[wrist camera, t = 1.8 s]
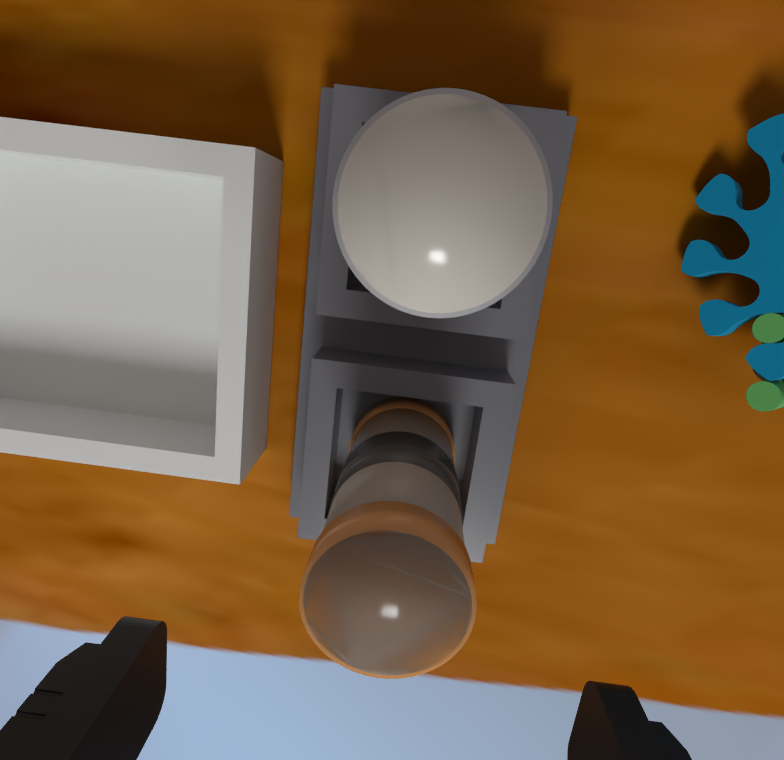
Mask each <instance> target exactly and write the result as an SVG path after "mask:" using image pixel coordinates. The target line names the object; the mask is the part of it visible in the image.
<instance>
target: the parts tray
mask: <svg viewBox="0 0 784 760" xmlns="http://www.w3.org/2000/svg"><path fill="white" fill-rule="evenodd" d="M282 177H283V161H281V160H279V159H277V158H275V157H273V156H271V155H269V154H267V153H265V152H263V151H261V150H259V149H257V148H255V147H247V146H238V145H230V144H222V143H214V142H205V141H197V140H189V139H180V138H172V137H164V136H156V135H147V134H139V133H131V132H122V131H114V130H106V129H98V128H89V127H81V126H73V125H64V124H56V123H48V122H39V121H31V120H23V119H15V118H6V117H0V452H3V453H11V454H18V455H25V456H33V457H40V458H47V459H55V460H62V461H70V462H77V463H84V464H92V465H99V466H107V467H114V468H121V469H129V470H136V471H143V472H151V473H158V474H166V475H173V476H180V477H188V478H195V479H203V480H210V481H217V482H225V483H232V484H239V485H240V483H241V482H242V481H243V479H244V478H245V477H246V475H247V474H248V472H249V471H250V470H251V468H252V467H253V466H254V464H255V463H256V461H257V460H258V459H259V457H260V456H261V455H262V453H263V452H264V451H265V449H266V443H267V427H268V410H269V393H270V377H271V360H272V343H273V327H274V310H275V293H276V277H277V260H278V243H279V227H280V210H281V194H282Z"/></svg>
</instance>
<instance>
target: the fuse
mask: <svg viewBox="0 0 784 760" xmlns="http://www.w3.org/2000/svg"><path fill="white" fill-rule="evenodd" d="M552 209H553V191H552V183H551V176H550V173H549V169H548V165H547V162H546V159H545V157H544V154H543V152H542V149H541V147H540V146H539V144H538V142H537V140H536V139H535V137H534V135H533V134H532V133H531V131H530V130H529V129H528V127H527V126H526V125H525V124H524V122H523V121H521V120H520V119H519V118H518V117H517V116H516V115H515V114H514V113H513V112H512V111H510V110H509V109H508V108H506V107H505V106H504V105H502V104H501V103H499V102H497V101H495V100H493V99H491V98H489V97H487V96H485V95H482V94H479V93H476V92H473V91H469V90H463V89H458V88H435V89H427V90H422V91H418V92H414V93H411V94H409V95H406V96H404V97H401V98H399V99H397V100H395V101H393V102H392V103H390V104H388V105H386V106H385V107H383V108H382V109H381V110H380V111H378V112H377V113H376V114H374V115H373V116H372V117H371V118H370V119H369V120H368V121H367V122H366V123H365V124H364V125H363V126H362V127H361V129H360V130H359V131H358V132H357V134H356V135H355V136H354V138H353V139H352V141H351V143H350V144H349V146H348V148H347V149H346V151H345V153H344V156H343V158H342V160H341V163H340V165H339V168H338V172H337V175H336V179H335V184H334V191H333V206H332V212H333V222H334V228H335V233H336V237H337V241H338V243H339V246H340V249H341V252H342V254H343V256H344V258H345V260H346V262H347V264H348V266H349V267H350V269H351V270H352V272H353V273H354V275H355V276H356V277H357V279H358V280H359V281H360V282H361V283H362V284H363V285H364V286H365V288H366V289H368V290H369V291H370V292H371V293H372V294H373V295H375V296H376V297H377V298H379V299H380V300H382V301H383V302H385V303H386V304H388V305H390V306H392V307H394V308H396V309H398V310H400V311H403V312H406V313H409V314H412V315H416V316H421V317H426V318H452V317H458V316H463V315H468V314H471V313H474V312H477V311H480V310H482V309H484V308H486V307H488V306H490V305H492V304H494V303H496V302H497V301H499V300H500V299H502V298H503V297H505V296H506V295H507V294H508V293H510V292H511V291H512V290H513V289H514V288H515V287H516V286H517V285H518V284H519V283H520V282H521V281H522V280H523V279H524V278H525V277H526V275H527V274H528V273H529V271H530V270H531V268H532V267H533V266H534V264H535V262H536V260H537V259H538V257H539V255H540V253H541V251H542V249H543V246H544V244H545V241H546V239H547V235H548V231H549V227H550V224H551V217H552Z"/></svg>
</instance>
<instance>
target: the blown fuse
mask: <svg viewBox="0 0 784 760" xmlns="http://www.w3.org/2000/svg"><path fill="white" fill-rule="evenodd" d="M454 465H455V446H454V439H453V434H452V431H451V428H450V426H449V424H448V422H447V420H446V419H445V417H444V416H443V415H442V414H441V413H440V412H439V411H438V410H437V409H436V408H435V407H433V406H432V405H430V404H429V403H427V402H425V401H423V400H420V399H416V398H409V397H393V398H388V399H385V400H382V401H380V402H378V403H376V404H375V405H373V406H371V407H370V408H369V409H368V410H367V411H366V412H365V413H364V414H363V415H362V416H361V418H360V419H359V421H358V423H357V425H356V427H355V430H354V433H353V436H352V439H351V442H350V446H349V455H348V458H347V459H346V461H345V463H344V466H343V469H342V471H341V474H340V477H339V480H338V483H337V486H336V489H335V492H334V495H333V498H332V501H331V504H330V508H329V514H328V518H327V521H326V523H325V526H324V529H323V531H322V532H321V534H320V535H319V537H318V538H317V540H316V542H315V544H314V547H313V550H312V552H311V555H310V558H309V561H308V564H307V567H306V570H305V572H304V575H303V578H302V581H301V585H300V591H299V606H300V613H301V617H302V620H303V623H304V625H305V628H306V630H307V632H308V634H309V635H310V637H311V638H312V640H313V641H314V642H315V644H316V645H317V646H318V647H319V649H320V650H322V651H323V652H324V653H325V654H326V655H327V656H328V657H329V658H331V659H332V660H334V661H335V662H336V663H338V664H340V665H341V666H343V667H345V668H347V669H349V670H352V671H354V672H357V673H360V674H363V675H366V676H371V677H376V678H387V679H397V678H407V677H413V676H417V675H421V674H424V673H426V672H429V671H431V670H433V669H435V668H437V667H439V666H441V665H443V664H444V663H445V662H447V661H448V660H450V659H451V658H452V657H453V656H454V655H455V654H456V653H457V652H458V651H459V650H460V649H461V648H462V647H463V645H464V644H465V642H466V641H467V639H468V637H469V635H470V633H471V631H472V629H473V625H474V622H475V618H476V609H477V608H476V594H475V587H474V580H473V573H472V566H471V561H470V557H469V554H468V551H467V549H466V547H465V543H464V535H463V514H462V507H461V500H460V492H459V485H458V479H457V473H456V471H455V466H454Z"/></svg>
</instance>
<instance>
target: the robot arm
mask: <svg viewBox="0 0 784 760" xmlns="http://www.w3.org/2000/svg"><path fill="white" fill-rule="evenodd" d="M166 659H167V627H166V623H165V622H163V621H156V620H149V619H141V618H134V617H127V616H126V617H123V618H121V619H120V620H119V621H118V622H117V623H116V625H115V626H114V627H113V629H112V630H111V631H110V633H109V634H108V635H107V637H106V638H105V639H104V641H103V642H102V643H101V644H93V643H85V644H83V645H82V646H80V647H79V648H77V649H76V650H74V651H73V652H71V653H70V654H69V655H67V656H66V657H64V658H63V659H61V660H60V661H58V662H57V663H56V664H55V666H54V667H53V668H52V669H51V670H50V671H49V673H48V674H47V675H46V676H45V677H44V679H43V680H42V681H41V682H40V684H39V685H38V686H37V687H36V688H35V691H34V693H33V694H30V695H29V697H28V698H27V699H26V700H25V702H24V703H23V704H22V705H21V706H20V707H19V709H18V710H17V713H16V715H15V716H14V717H13V716H12V717H11V719H9V721H8V722H7V723H6V724H5V726H4V727H3V728H2V729H1V730H0V760H136V759H137V757H138V756H139V754H140V752H141V750H142V748H143V746H144V744H145V742H146V740H147V739H148V737H149V735H150V733H151V731H152V729H153V727H154V725H155V723H156V721H157V719H158V716H159V713H160V711H161V708H162V704H163V700H164V696H165V690H166ZM568 760H692V759H691V757H690V755H689V754H688V752H687V750H686V749H685V748H684V747H683V746H682V745H681V743H680V742H679V741H678V740H677V739H676V738H675V737H674V736H673V734H672V733H671V732H670V731H669V730H668V729H667V728H666V727H665V726H664V725H663V723H661V722H654V721H648V718H647V716H646V714H645V712H644V710H643V708H642V706H641V704H640V702H639V699H638V697H637V695H636V693H635V692H634V690H633V689H632V688H631V687H629V686H624V685H617V684H609V683H602V682H594V681H588V682H587V683H586V684H585V686H584V689H583V692H582V696H581V700H580V703H579V707H578V710H577V714H576V718H575V721H574V725H573V729H572V732H571V736H570V740H569V744H568Z"/></svg>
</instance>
